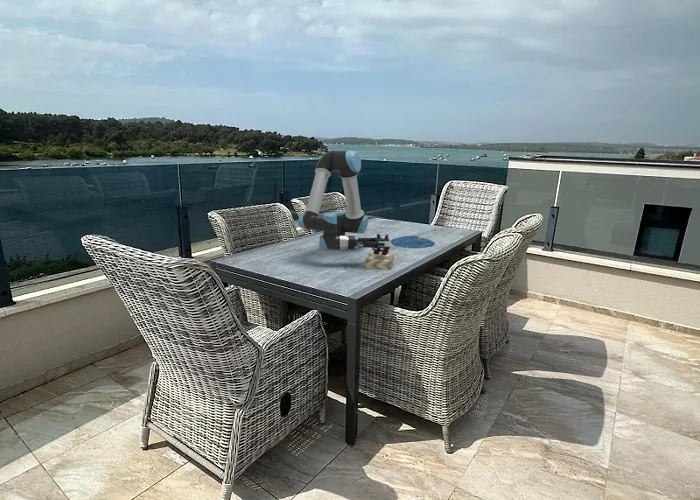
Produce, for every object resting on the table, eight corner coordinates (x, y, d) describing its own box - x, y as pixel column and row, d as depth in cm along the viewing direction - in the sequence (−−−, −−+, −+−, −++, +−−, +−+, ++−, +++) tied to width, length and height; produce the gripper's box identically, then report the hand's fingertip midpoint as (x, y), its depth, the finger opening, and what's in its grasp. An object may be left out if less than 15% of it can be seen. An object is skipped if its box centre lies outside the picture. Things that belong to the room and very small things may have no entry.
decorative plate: (435, 252, 245) (435, 244, 243) (389, 248, 250) (389, 241, 248) (434, 239, 272) (434, 232, 271) (392, 237, 277) (392, 230, 276)
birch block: (364, 268, 206) (365, 259, 205) (369, 261, 219) (369, 252, 218) (390, 270, 203) (390, 261, 202) (393, 263, 216) (393, 254, 215)
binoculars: (371, 238, 201) (375, 232, 210) (371, 256, 205) (375, 250, 214) (387, 239, 198) (391, 233, 207) (387, 258, 202) (391, 251, 211)
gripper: (347, 244, 217) (387, 245, 218) (347, 253, 199) (391, 253, 199) (347, 232, 215) (387, 232, 216) (348, 239, 197) (392, 240, 197)
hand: (389, 242), depth 208 cm, fingers closed on binoculars, 6 cm apart
